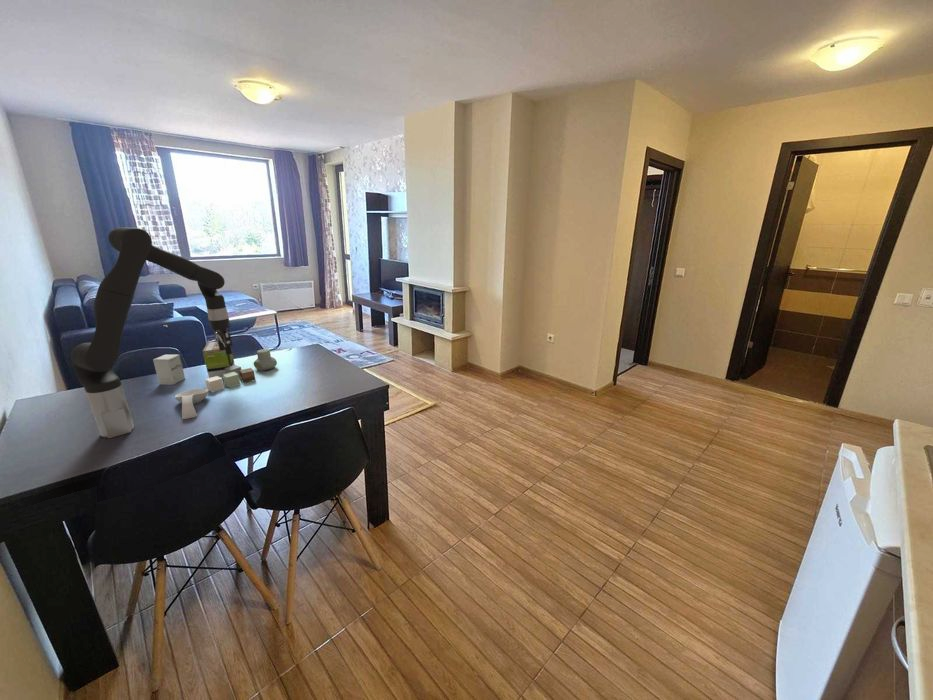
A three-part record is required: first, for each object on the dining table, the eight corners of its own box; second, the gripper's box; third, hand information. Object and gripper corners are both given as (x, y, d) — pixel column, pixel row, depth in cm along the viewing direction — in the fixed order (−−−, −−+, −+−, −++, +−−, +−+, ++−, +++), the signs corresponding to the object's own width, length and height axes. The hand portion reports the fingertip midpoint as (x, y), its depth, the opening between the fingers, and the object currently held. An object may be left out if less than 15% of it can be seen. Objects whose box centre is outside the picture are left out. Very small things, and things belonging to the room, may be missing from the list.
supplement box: (174, 384, 176) (167, 359, 172) (158, 384, 177) (152, 359, 173) (185, 378, 183) (179, 354, 179) (170, 378, 184) (164, 354, 180)
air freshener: (279, 368, 198) (277, 350, 194) (264, 373, 191) (261, 354, 188) (267, 364, 203) (264, 346, 200) (252, 369, 196) (249, 350, 193)
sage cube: (240, 384, 178) (238, 374, 177) (228, 387, 175) (226, 377, 173) (236, 381, 181) (234, 371, 180) (224, 384, 178) (222, 374, 176)
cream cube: (223, 388, 173) (221, 378, 172) (211, 392, 170) (209, 381, 168) (219, 385, 176) (217, 375, 175) (207, 389, 172) (204, 379, 171)
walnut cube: (255, 380, 183) (253, 370, 181) (244, 382, 180) (242, 373, 178) (252, 377, 186) (250, 367, 185) (241, 379, 183) (239, 370, 181)
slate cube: (242, 376, 187) (240, 366, 186) (232, 379, 183) (230, 370, 182) (236, 374, 190) (235, 365, 188) (226, 377, 185) (224, 368, 184)
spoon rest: (178, 399, 163) (174, 383, 161) (210, 393, 169) (207, 378, 167) (172, 422, 144) (167, 405, 142) (209, 415, 150) (205, 398, 147)
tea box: (213, 368, 196) (207, 341, 192) (235, 366, 200) (230, 339, 196) (208, 379, 183) (201, 350, 179) (232, 376, 187) (226, 347, 183)
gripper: (233, 318, 166) (240, 353, 171) (222, 313, 175) (229, 347, 180) (214, 322, 161) (222, 357, 166) (203, 316, 169) (211, 350, 175)
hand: (225, 352), depth 173 cm, fingers open, 8 cm apart
